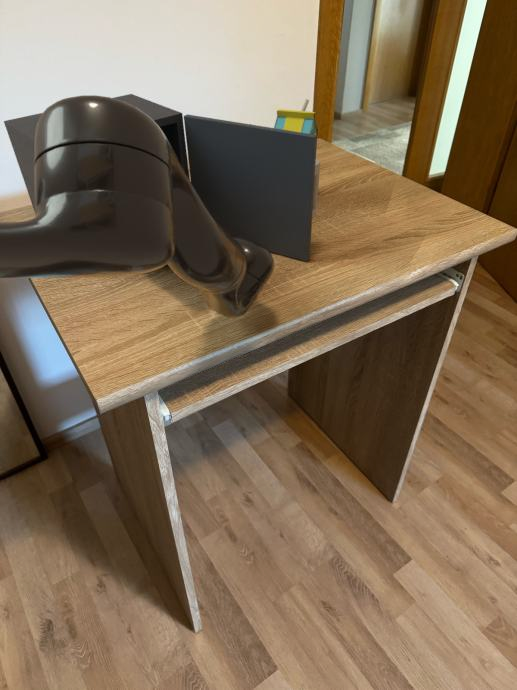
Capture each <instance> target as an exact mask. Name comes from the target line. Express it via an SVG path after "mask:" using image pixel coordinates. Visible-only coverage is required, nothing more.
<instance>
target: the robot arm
mask: <svg viewBox="0 0 517 690" xmlns="http://www.w3.org/2000/svg"><path fill="white" fill-rule="evenodd" d="M113 98H114V97H110V96H103V95H95V94H93V95H88V94H87V95H85V94H84V95H77V96H71V97H65V98H62V99H60V100H58V101H56V102H54V103H52V104H51V105H49V106H48V107H46V109H45V110H44V111H43V112H41V113H42V115H41V116H40V119H39V121H38V124H37V127H36V133H35V143H34V183H35V210H36V213H35V212H34V217H33V218H31V219H27V220H21V221H0V279H68V278H69V279H83V278H84V279H87V278H88V279H89V278H92V279H93V278H115V277H117V278H119V277H129V276H137V275H143V274H147V273H151V272H155V271H157V270H159V269H162V268H164V267H166V266H167V265H168V267H169V268H170V269H171V270H172V272H173V273H174V274H175V275H176V276H177V277H178V278H180V279H181V280H182V281H184V282H185V283H187V284H188V285H190V286H192V287H195V288H196V289H198V292H199V294H200V296H201V297H202V299H203V300H204V302H205V303H206V304H207V305H208V307H210V309H212V310H213V311H214V312H215V313H216V314H218V315H221V316H222V317H225V318H229V319H238V318H241V317H243V316H244V315H246V314H247V313H248V312H249V311H250V309H251V308H252V307H253V305H254V303H255V302H256V300H257V298H258V297H259V295H260V294H261V293H262V292H263V291H262V290H263V289H264V288H265V286H266V285H267V283H268V282H269V280H270V279H271V277H272V275H273V273H274V271H275V261H274V258H273V255H272V253H271V252H269V251H268V250H267V249H266V248H265V247H264V246H262V245H261V244H259V243H257V242H255V241H252V240H249V239H245V238H240V237H233V236H231V235H230V234H229V233H228V232H227V231H226V230H225V229H223V228H222V227H221V225H220V224H219V223H218V222H217V221H216V220H215V219H214V217H213V216H212V214H211V213H210V212H209V210H208V209H207V207H206V206H205V204H204V203H203V201H202V199H201V198H200V196H199V195H198V193H197V191H196V190H195V188H194V186H193V185H192V183H191V179H190V180H189V178H190V177H189V178H188V176H187V175H186V173H185V171H184V170H183V168H182V166H181V164H180V162H179V160H178V158H177V156H176V154H175V152H174V150H173V148H172V146H171V145H170V143H169V141H168V139H167V138H166V136H165V134H164V133H163V131H162V130H161V128H160V127H159V126H158V125H157V124H156V123H155V121H154V120H152V119H151V118H150V117H149V116H148V115H147V114H145V113H144V112H142V111H141V110H139V109H138V108H136V107H134V106H132V105H130V104H128V103H126V102H123V101H120V100H117V99H113Z"/></svg>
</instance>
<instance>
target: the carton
mask: <svg viewBox="0 0 517 690" xmlns="http://www.w3.org/2000/svg"><path fill="white" fill-rule="evenodd" d="M309 102H310V100H309V99H307V98H305V99H304V102H303V104H302V107H301V109H300V110H294V109H293V110H292V109H281V108H280V109H279V108H278V109H277V110H276V119H275V123H274V127H273V128H276V129H282V130H288V131H295V132H301V133H307V134H314V135H317V136H318V131H319V130H318V128H319V127H318V125H317V121H316V120H315V117H316V116H315V115H316V112H315V111H306V109H307V107H308V105H309ZM317 146H318V145H317ZM317 146H316V150H318V149H317Z"/></svg>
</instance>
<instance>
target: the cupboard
mask: <svg viewBox="0 0 517 690" xmlns="http://www.w3.org/2000/svg"><path fill="white" fill-rule="evenodd" d="M112 98H113V99H117V100H120V101H123V102H126V103H128V104H130V105H132V106H134V107H136V108H138V109H139V110H141V111H142V112H144V113H145V114H147V115H148V116H149V117H150V118H151V119H152V120H154V121H155V123H156V124H157V125H158V126H159V127H160V128H161V130H162V131H163V133H164V134H165V136H166V138H167V139H168V141H169V143H170V145H171V146H172V148H173V150H174V152H175V154H176V156H177V158H178V160H179V162H180V164H181V166H182V168H183V170H184V171H185V173H186V175H187V176H188V178H189V180H190V181H191V178H190V169H189V160H188V151H187V142H186V133H185V124H184V115H183V112H180V111H177V110H176V109H172V108H169V107H167V106H164V105H162V104H159V103H157V102H154V101H151V100H149V99H146V98H143V97H141V96H138V95H135V94H133V93H129V94H123V95H119V96H115V97H112ZM42 113H43V112H40V113H35V114H31V115H26V116H22V117H17V118H12V119H11V118H10V119H6V120H3V125H4V127H5V130H6V132H7V135H8V138H9V142H10V143H11V147H12V150H13V152H14V156H15V159H16V162H17V165H18V167H19V170H20V173H21V176H22V180H23V182H24V184H25V188H26V191H27V194H28V197H29V199H30V203H31V205H32V209H33V211H34V214H35V213H36V210H35V183H34V143H35V133H36V127H37V124H38V121H39V119H40V116H41V115H42Z"/></svg>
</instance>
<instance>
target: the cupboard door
mask: <svg viewBox="0 0 517 690" xmlns="http://www.w3.org/2000/svg"><path fill="white" fill-rule="evenodd" d="M183 125H184V134H185V142H186V151H187V160H188V169H189V178H190V181H191V183H192V185H193V186H194V188H195V190H196V191H197V193H198V195H199V196H200V198H201V199H202V201H203V203H204V204H205V206H206V207H207V209H208V210H209V212H210V213H211V214H212V216H213V217H214V219H215V220H216V221H217V222H218V223H219V224H220V225H221V227H222V228H223V229H225V230H226V231H227V232H228V233H229V234H230V235H231V236H233V237H240V238H245V239H249V240H252V241H255V242H257V243H259V244H261V245H262V246H264V247H265V248H266V249H267V250H268V251H269V252H270V253H272V254H277V255H282V256H284V257H287V258H292V259H296V260H298V261H303V262H309V260H310V258H311V242H312V227H313V220H314V219H315V218H316V217H317V215H318V201H319V187H320V171H321V160H319V159H317V149H316V146H318V134H317V135H314V134H307V133H301V132H295V131H288V130H282V129H276V128H274V127H268V126H262V125H256V124H250V123H244V122H239V121H233V120H225V119H218V118H212V117H205V116H199V115H195V114H185V115H183Z"/></svg>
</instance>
